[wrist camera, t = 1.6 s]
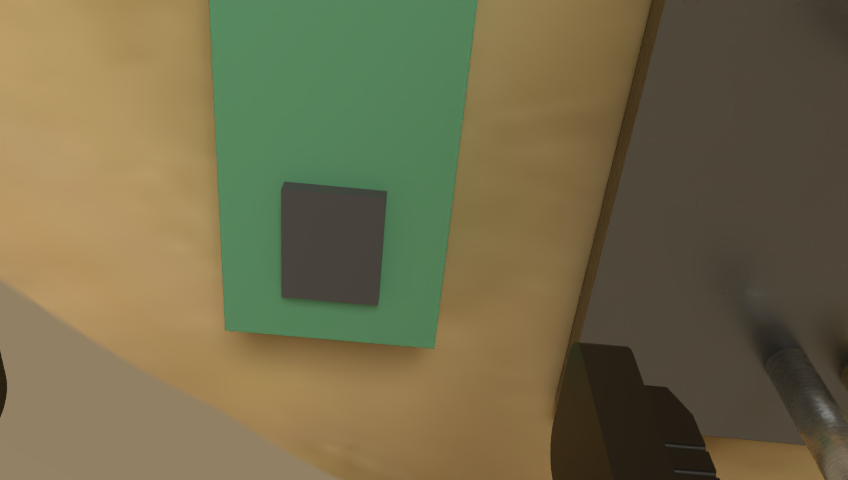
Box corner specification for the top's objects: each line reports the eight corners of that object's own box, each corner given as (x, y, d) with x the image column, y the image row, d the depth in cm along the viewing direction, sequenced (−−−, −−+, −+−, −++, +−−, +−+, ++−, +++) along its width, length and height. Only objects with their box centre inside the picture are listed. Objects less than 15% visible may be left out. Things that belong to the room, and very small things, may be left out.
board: (238, -197, 17) (193, -194, 14) (489, -170, 17) (498, -162, 14) (250, 269, 23) (221, 339, 20) (435, 285, 23) (434, 358, 20)
